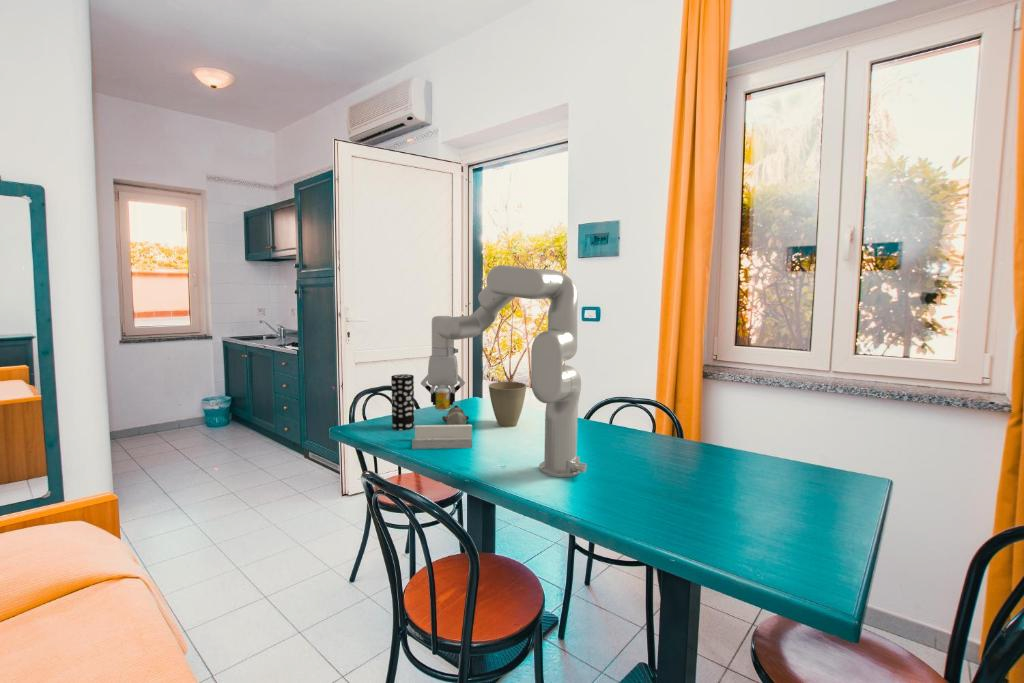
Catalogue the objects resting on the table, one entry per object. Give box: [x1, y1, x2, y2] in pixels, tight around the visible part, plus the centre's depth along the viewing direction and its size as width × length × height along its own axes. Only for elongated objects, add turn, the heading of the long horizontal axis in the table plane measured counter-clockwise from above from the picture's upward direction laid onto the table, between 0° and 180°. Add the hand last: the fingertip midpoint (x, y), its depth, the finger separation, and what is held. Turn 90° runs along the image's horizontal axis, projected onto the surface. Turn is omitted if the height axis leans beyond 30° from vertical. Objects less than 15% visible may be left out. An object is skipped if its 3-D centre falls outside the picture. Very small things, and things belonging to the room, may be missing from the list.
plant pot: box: [488, 381, 527, 428], centre depth 198 cm, size 15×15×16 cm
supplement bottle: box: [434, 385, 452, 412], centre depth 173 cm, size 5×5×10 cm
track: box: [411, 424, 473, 450], centre depth 174 cm, size 20×11×5 cm, turn 95°
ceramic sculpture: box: [441, 404, 470, 425], centre depth 196 cm, size 11×9×15 cm
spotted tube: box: [390, 373, 415, 431], centre depth 192 cm, size 8×8×20 cm
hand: (442, 403), depth 173 cm, fingers closed on supplement bottle, 5 cm apart
